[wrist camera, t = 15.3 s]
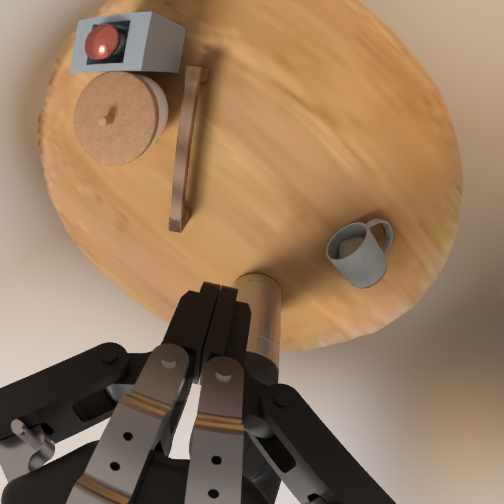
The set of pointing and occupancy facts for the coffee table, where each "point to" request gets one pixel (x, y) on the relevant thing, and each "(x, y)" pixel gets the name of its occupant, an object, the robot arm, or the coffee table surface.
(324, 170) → the coffee table surface
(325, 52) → the coffee table surface
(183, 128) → the brown curved bar
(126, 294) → the coffee table surface
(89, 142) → the lidded bowl
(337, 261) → the ceramic mug
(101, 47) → the plunger
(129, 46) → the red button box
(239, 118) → the coffee table surface
